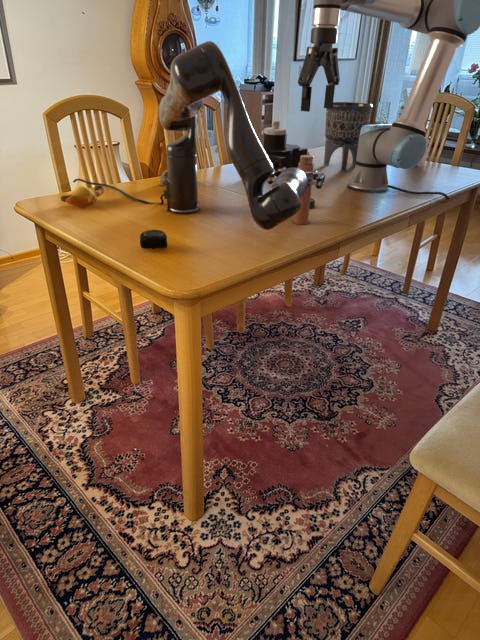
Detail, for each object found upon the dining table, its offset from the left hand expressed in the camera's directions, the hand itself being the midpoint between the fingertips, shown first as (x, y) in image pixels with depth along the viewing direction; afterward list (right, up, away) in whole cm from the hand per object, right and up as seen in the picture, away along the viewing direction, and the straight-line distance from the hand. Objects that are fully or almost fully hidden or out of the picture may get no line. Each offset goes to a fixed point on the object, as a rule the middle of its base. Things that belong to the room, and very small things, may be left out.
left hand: (300, 172), depth 122 cm
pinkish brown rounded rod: (+2, -10, +17) cm, 20 cm away
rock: (-40, +13, +54) cm, 69 cm away
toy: (-68, -1, +29) cm, 74 cm away
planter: (+31, +31, +88) cm, 99 cm away
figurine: (+68, +34, +95) cm, 121 cm away
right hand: (+7, +25, +17) cm, 31 cm away
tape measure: (-38, -21, -5) cm, 44 cm away
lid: (+6, 0, +31) cm, 31 cm away
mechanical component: (+1, +24, +74) cm, 78 cm away
